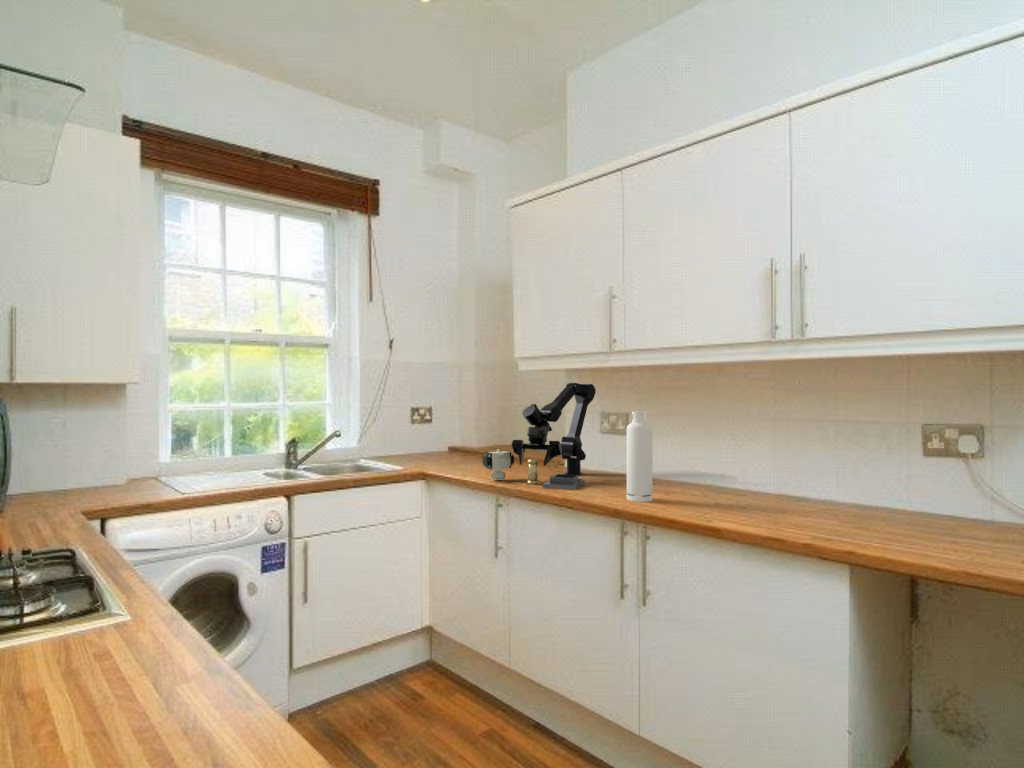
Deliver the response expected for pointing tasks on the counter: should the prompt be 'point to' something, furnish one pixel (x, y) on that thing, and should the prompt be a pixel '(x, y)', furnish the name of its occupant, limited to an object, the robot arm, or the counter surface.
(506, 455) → the pneumatic valve
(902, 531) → the counter surface
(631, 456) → the bottle
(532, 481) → the brass coupling
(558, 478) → the plate
